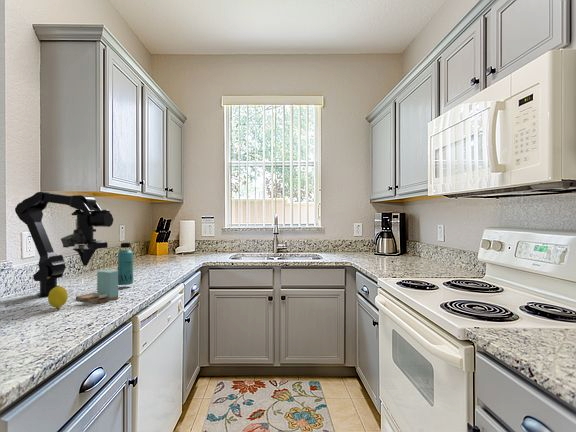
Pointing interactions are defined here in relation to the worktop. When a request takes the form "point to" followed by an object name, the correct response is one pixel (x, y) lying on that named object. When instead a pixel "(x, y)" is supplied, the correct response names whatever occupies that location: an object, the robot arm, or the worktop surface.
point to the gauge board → (95, 298)
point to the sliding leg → (100, 283)
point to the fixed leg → (110, 284)
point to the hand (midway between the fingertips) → (85, 265)
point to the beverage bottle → (125, 265)
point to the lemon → (57, 297)
